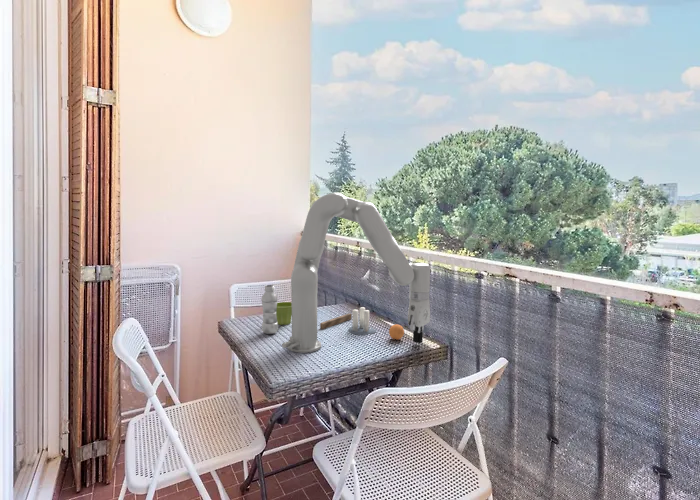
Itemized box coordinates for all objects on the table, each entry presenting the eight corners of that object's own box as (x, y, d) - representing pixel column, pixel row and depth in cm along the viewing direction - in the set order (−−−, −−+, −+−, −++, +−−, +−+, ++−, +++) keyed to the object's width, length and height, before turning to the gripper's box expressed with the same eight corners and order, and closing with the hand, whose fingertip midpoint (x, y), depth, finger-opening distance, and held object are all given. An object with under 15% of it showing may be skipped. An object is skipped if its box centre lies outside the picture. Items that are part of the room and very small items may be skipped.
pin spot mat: (365, 337, 157) (365, 336, 157) (342, 330, 165) (342, 330, 165) (381, 329, 167) (381, 329, 167) (359, 324, 174) (359, 323, 174)
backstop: (322, 329, 166) (323, 323, 166) (320, 328, 167) (320, 323, 167) (351, 319, 182) (351, 313, 182) (348, 318, 183) (348, 313, 183)
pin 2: (362, 329, 167) (363, 309, 166) (358, 328, 169) (358, 308, 168) (365, 327, 169) (366, 307, 168) (361, 326, 171) (361, 306, 170)
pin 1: (355, 332, 163) (355, 311, 162) (351, 330, 165) (351, 310, 164) (359, 330, 165) (359, 310, 164) (354, 329, 167) (354, 309, 166)
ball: (399, 342, 151) (399, 328, 151) (386, 339, 155) (386, 324, 154) (406, 338, 156) (407, 324, 155) (393, 335, 160) (394, 321, 159)
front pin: (366, 332, 163) (367, 311, 162) (362, 331, 164) (362, 310, 163) (370, 331, 165) (370, 310, 164) (365, 330, 166) (365, 309, 165)
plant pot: (283, 327, 168) (283, 308, 167) (268, 323, 173) (268, 304, 172) (298, 322, 175) (298, 304, 174) (284, 319, 181) (284, 300, 180)
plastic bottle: (274, 336, 157) (274, 288, 154) (259, 335, 158) (258, 287, 156) (280, 331, 163) (280, 284, 161) (265, 330, 164) (265, 284, 162)
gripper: (418, 300, 139) (417, 349, 141) (436, 293, 151) (435, 339, 153) (400, 297, 144) (399, 345, 146) (419, 290, 156) (418, 334, 158)
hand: (417, 341), depth 149 cm, fingers closed
